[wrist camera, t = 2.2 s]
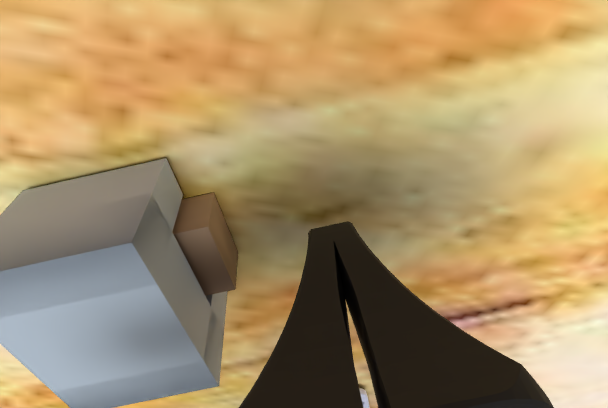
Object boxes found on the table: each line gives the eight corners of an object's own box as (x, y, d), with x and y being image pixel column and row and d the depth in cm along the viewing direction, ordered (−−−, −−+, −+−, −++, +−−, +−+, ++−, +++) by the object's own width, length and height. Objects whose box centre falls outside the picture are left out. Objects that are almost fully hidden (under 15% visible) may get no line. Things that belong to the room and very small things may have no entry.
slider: (227, 290, 17) (219, 386, 13) (115, 314, 17) (78, 414, 13) (166, 158, 13) (131, 242, 9) (22, 190, 13) (-64, 285, 10)
